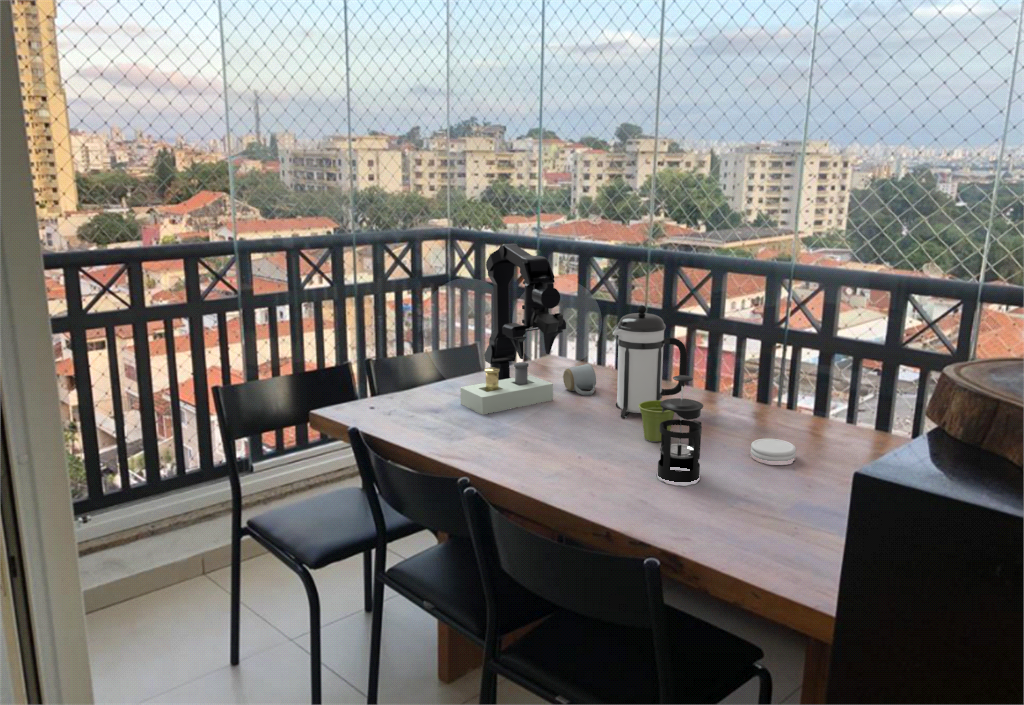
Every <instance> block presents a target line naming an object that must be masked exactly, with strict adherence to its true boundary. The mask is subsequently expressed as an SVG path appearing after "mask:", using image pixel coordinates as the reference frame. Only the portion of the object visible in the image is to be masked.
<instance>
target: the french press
mask: <svg viewBox="0 0 1024 705" xmlns="http://www.w3.org/2000/svg"><path fill="white" fill-rule="evenodd" d="M672 379H673V380H674V381H676V382H678V381H680V386H682V388H681V391H680V394H681V395H680V397H679V398H678V397H677V398H667V399H664V400H661V401H662V402H661V403H660V405H661V407H662V413H663V412H664V411H665V410H671V411H673V412H675V413H674V414H676V415H678V417H679V419H678V418H677V419H674V418H673V420H666V421H663V422H661V423H660V427H659V431H660V433H661V442H660V448H659V450H660V459H659V460H658V461H657V472H658V476H659V477H661V478H662V479H665V480H669V481H674V482H691V481H694V480H697V479H698V478H699V475H700V471H701V469H700V468H701V463H700V462H699V460H700V458H701V456H700V455H701V440H702V438H701V437H702V433H703V432H702V430H703V427H702V421H699V420H696V419H698V418H700V417H701V410H702V409H704V405H703V403H702V402H700V401H697V400H695V399H689V398H684V387H685V384H686V382H692V381H693V377H691V376H690V375H686V376H685V375H679V374H678V375H675V376H674V375H673V377H672ZM683 386H684V387H683ZM671 425H672V426H679V431H672V430H671V431H669V430H667V426H671ZM672 426H671V427H672ZM682 426H685V427H688V432H682ZM672 438H673V439H678V443H672ZM685 439H688V441H687V442H688V443H687V444H685V443H681V441H682V440H685ZM670 467H680V468H687V469H690V471H675V470H670Z"/></svg>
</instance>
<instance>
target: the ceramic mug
mask: <svg viewBox="0 0 1024 705" xmlns="http://www.w3.org/2000/svg"><path fill="white" fill-rule="evenodd" d="M562 377H563V378H562V379H563V384H564V387H565V388H566V390H567V391H569V392H576V393H578V394H579V395H581V396H584V397H585V396H591V395H593V393H595V388H596V385H597V376H596V371H595V369H594V367H593V365H592V364H590V363H585V364H581V365H576V366H571V367H568V368H566V369H564V371H563V376H562ZM587 390H588V391H587ZM589 390H590V391H589Z"/></svg>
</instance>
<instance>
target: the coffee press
mask: <svg viewBox="0 0 1024 705" xmlns="http://www.w3.org/2000/svg"><path fill="white" fill-rule="evenodd" d="M637 311H638V312H637V313H635V312H634V313H628V314H625V315H623V316H622V317H621V318H620V319H619V322H618V323H617V326H616V327H615V328H614V330H613V332H612V336H618V337H617V345H618V348H617V349H618V351H617V353H618V355H617V356H618V357H617V384H616V385H617V386H616V387H617V388H616V389H617V390H616V391H617V392H616V393H617V395H616V396H617V397H616V398H617V399H616V403H615V407H616V408H617V409H621V413H620V418H622V419H625V418H626V419H627V418H628V417H629V415H630V414H632V413H635V414H637V413H638V414H642V413H641V410H640V408H639V404H640V403H642V402H645V401H653V400H658V401H662V398H663V397H665V396H673V395H677V394H678V393H681V388H682V386H680V381H677V384H676V385H675V386H674V387H672V388H665V389H664V388H662V386H663V385H662V384H663V368H664V367H663V365H664V363H663V362H664V346H665V345H673V346H676V347H677V348H678V350H679V365H678V366H679V370H678V375H685V376H687V368H688V367H687V366H688V365H687V364H688V363H687V362H688V358H687V357H688V354H687V348H686V346H685V344H684V342H682V340H680V339H679V338H676V337H666V338H665V330H666V328H667V327H666V326H667V325H666V324H665V323H664V319H663V318H662V317H660V316H658V315H657V314H653V313H647V312H646V311H647V308H646V306H645V305H643V304H641V305H639V306H638V308H637ZM684 387H685V386H683V388H684Z"/></svg>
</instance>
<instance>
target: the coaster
mask: <svg viewBox="0 0 1024 705" xmlns="http://www.w3.org/2000/svg"><path fill="white" fill-rule="evenodd" d="M796 452H797V448H796V446H795V445H794V444H793V443H791V442H789V441H787V440H783V439H777V438H759V439H756V440H753V441H752V442H751V444H750V453H752V455H753V456H755V457H756V458H759V459H762V460H767V461H788V460H791V459H793V458H795V459H796V455H797V453H796Z"/></svg>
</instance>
